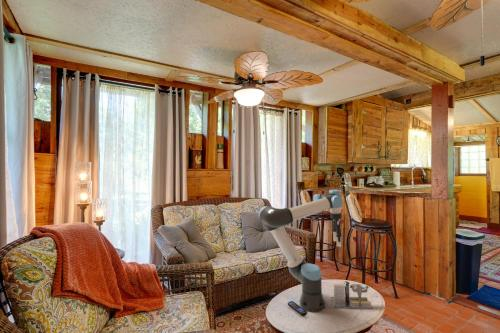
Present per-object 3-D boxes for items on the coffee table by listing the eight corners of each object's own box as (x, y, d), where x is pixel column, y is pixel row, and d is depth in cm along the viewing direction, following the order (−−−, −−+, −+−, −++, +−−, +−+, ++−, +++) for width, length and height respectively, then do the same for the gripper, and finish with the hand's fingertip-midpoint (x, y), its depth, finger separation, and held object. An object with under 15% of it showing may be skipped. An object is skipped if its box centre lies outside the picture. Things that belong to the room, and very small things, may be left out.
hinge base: (333, 307, 160) (332, 286, 160) (330, 298, 172) (329, 278, 172) (371, 309, 157) (370, 287, 157) (365, 299, 169) (364, 278, 169)
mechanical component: (369, 303, 161) (368, 286, 161) (351, 302, 163) (350, 285, 163) (368, 300, 164) (367, 284, 164) (350, 300, 166) (349, 283, 166)
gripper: (345, 215, 172) (346, 248, 172) (338, 209, 197) (339, 239, 197) (333, 215, 173) (334, 248, 173) (327, 210, 198) (328, 239, 198)
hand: (337, 243), depth 185 cm, fingers open, 13 cm apart
